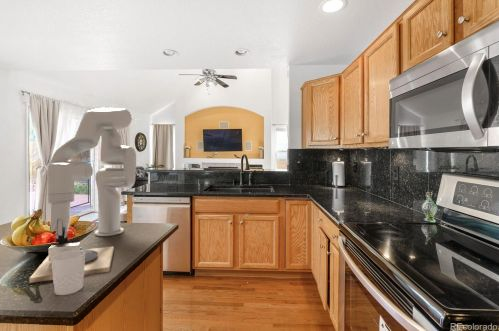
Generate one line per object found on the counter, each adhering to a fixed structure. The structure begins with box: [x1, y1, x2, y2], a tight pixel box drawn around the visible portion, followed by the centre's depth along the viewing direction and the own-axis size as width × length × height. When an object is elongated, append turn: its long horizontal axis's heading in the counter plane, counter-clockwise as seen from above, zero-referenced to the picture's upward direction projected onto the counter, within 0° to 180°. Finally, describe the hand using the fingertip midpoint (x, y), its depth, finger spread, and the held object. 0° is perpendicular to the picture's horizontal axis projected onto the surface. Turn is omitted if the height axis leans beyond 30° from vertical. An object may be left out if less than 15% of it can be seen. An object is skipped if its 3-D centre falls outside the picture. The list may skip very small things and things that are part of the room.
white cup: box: [51, 249, 85, 296], centre depth 75 cm, size 8×8×10 cm
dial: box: [47, 241, 98, 263], centre depth 92 cm, size 14×12×5 cm
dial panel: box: [28, 246, 115, 284], centre depth 92 cm, size 21×21×4 cm
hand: (62, 248), depth 94 cm, fingers closed
